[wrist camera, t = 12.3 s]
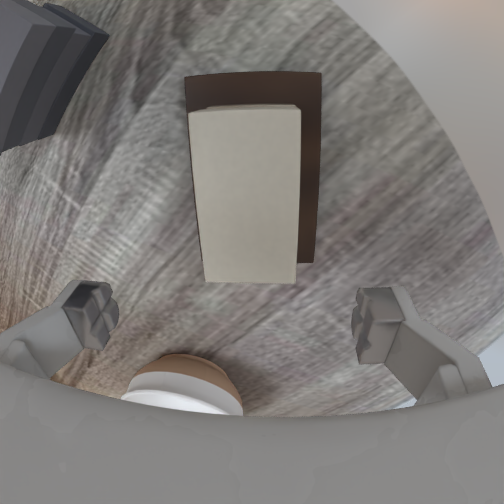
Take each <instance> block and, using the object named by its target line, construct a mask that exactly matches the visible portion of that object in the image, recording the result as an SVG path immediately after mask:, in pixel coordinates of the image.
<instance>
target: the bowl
mask: <svg viewBox="0 0 504 504" xmlns="http://www.w3.org/2000/svg"><path fill="white" fill-rule="evenodd" d="M121 400H126V401H131V402H136V403H141V404H146V405H152V406H158V407H164V408H171V409H178V410H185V411H193V412H202V413H212V414H224V415H238V416H243V409H242V400H241V398H240V395H239V393H238V391H237V389H236V387H235V386H234V385H233V384H232V382H231V381H230V380H229V378H228V376H227V374H226V373H225V372H224V371H223V370H222V369H221V368H220V367H219V366H217V365H216V364H214V363H212V362H210V361H208V360H206V359H203V358H200V357H198V356H193V355H188V354H170V355H166V356H164V357H161V358H160V359H159V360H157V361H154V362H151V363H149V364H147V365H146V366H144V367H143V368H142V369H140V370H139V371H137V373H136V374H135V376H134V378H133V379H132V380H131V382H130V383H129V387H128V390H127V392H126V393H125V394H124V395H123V396H122V397H121Z"/></svg>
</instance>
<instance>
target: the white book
mask: <svg viewBox="0 0 504 504" xmlns="http://www.w3.org/2000/svg"><path fill="white" fill-rule="evenodd" d="M188 121H189V134H190V147H191V158H192V169H193V180H194V190H195V199H196V209H197V218H198V226H199V235H200V243H201V251H202V259H203V266H204V273H205V281H206V282H219V283H261V284H295V279H296V262H297V244H298V223H299V197H300V160H301V110H300V109H298V108H297V107H239V108H219V109H204V110H197V111H194V112H191V113H188Z"/></svg>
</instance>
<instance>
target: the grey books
mask: <svg viewBox="0 0 504 504" xmlns="http://www.w3.org/2000/svg"><path fill="white" fill-rule="evenodd" d="M109 36H110V35H109V34H107V33H106V32H104V31H103V30H101V29H99V28H98V27H96V26H94V25H93V24H91V23H89V22H88V21H86V20H84V19H83V18H81V17H79V16H77V15H76V14H74V13H72V12H70V11H69V10H67V9H65V8H63V7H61V6H58V5H53V4H48V3H45V4H44V5H43V7H40V6H37V5H35V4H33V3H31V2H29V1H28V0H0V155H1V152H4V151H6V150H8V149H11V148H13V147H15V146H18V145H19V146H22V145H24V144H27V143H30V142H32V141H35V140H37V139H38V140H39V139H42V138H45V137H47V136H50V135H53V134H54V132H55V130H56V128H57V126H58V124H59V122H60V119H61V117H62V115H63V113H64V111H65V109H66V107H67V105H68V103H69V102H70V100H71V98H72V96H73V94H74V92H75V90H76V89H77V87H78V85H79V83H80V81H81V80H82V78H83V76H84V75H85V73H86V71H87V70H88V68H89V66H90V65H91V63H92V61H93V60H94V58H95V57H96V55H97V54H98V52H99V51H100V49H101V48H102V46H103V45H104V43H105V42H106V40H107V39H108V37H109Z"/></svg>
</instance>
